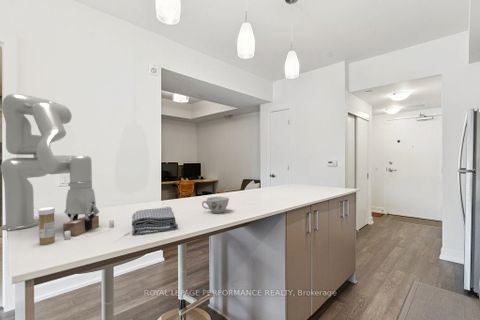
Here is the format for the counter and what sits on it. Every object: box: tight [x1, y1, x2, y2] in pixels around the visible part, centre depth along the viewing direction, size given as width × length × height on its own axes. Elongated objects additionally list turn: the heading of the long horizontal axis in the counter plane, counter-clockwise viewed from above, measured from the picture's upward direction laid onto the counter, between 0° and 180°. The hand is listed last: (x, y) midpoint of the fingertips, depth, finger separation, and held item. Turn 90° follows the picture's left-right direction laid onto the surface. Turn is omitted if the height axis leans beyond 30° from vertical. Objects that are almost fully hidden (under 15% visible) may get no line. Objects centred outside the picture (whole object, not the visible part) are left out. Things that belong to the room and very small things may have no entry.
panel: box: [64, 219, 115, 241], centre depth 97 cm, size 16×20×4 cm
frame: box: [62, 214, 100, 238], centre depth 98 cm, size 5×13×5 cm, turn 174°
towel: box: [131, 206, 179, 236], centre depth 104 cm, size 15×18×8 cm
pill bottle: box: [37, 206, 56, 246], centre depth 85 cm, size 5×5×13 cm
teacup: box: [201, 196, 230, 214], centre depth 132 cm, size 15×12×8 cm
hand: (82, 229), depth 98 cm, fingers closed on frame, 5 cm apart
